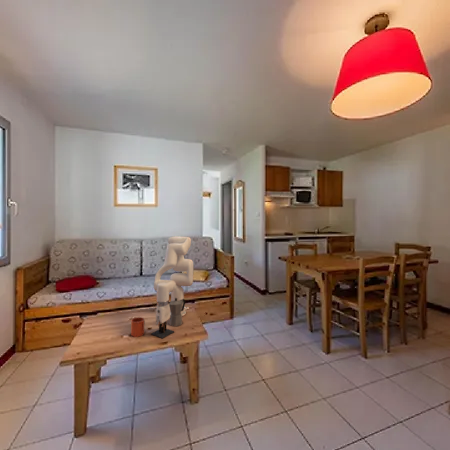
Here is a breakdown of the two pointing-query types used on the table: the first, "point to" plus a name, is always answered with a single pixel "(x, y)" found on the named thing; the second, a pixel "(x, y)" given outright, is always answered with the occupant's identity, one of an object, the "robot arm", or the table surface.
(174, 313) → the coffeepot
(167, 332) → the peg on square base
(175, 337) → the table surface
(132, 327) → the cup
